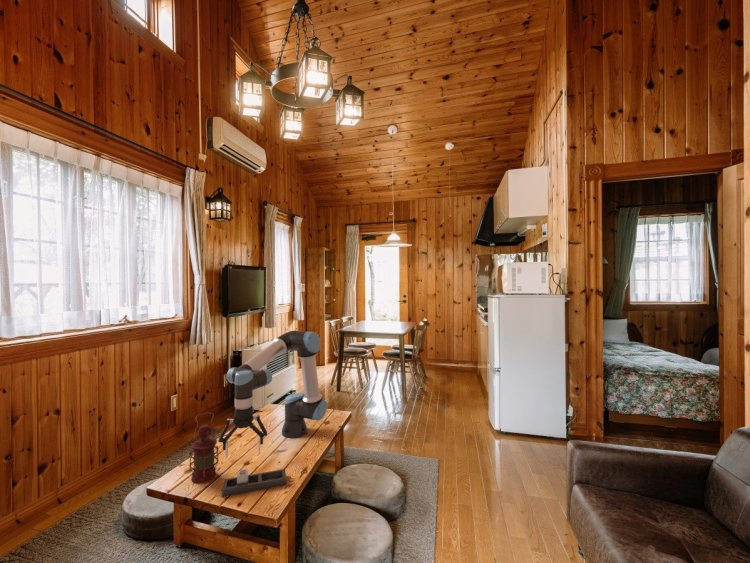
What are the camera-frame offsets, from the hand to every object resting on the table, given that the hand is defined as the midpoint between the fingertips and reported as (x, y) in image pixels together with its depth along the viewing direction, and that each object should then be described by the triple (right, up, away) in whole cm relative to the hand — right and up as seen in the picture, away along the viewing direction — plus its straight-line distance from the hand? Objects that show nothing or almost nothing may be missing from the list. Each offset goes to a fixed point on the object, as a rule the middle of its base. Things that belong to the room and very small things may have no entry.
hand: (243, 454), depth 148 cm
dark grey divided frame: (+5, -15, +1) cm, 16 cm away
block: (0, -15, -1) cm, 15 cm away
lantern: (-22, -15, +8) cm, 28 cm away
